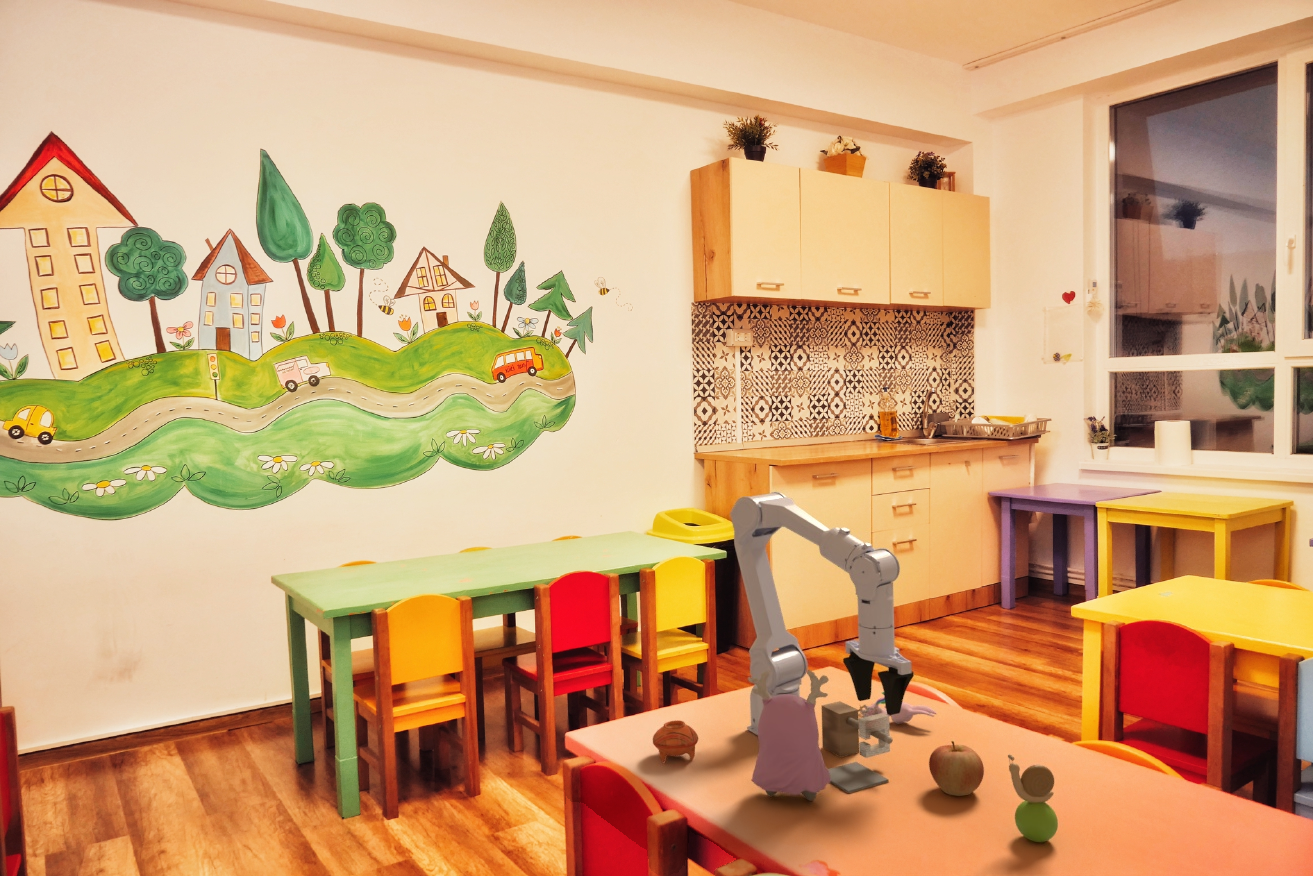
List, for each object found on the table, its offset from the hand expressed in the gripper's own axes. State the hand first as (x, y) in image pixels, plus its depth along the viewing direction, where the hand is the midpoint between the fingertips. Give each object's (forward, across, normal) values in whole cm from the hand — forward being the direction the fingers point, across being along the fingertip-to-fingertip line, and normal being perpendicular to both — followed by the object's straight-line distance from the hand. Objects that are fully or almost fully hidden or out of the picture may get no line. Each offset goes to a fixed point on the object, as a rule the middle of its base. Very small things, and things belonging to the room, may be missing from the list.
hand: (878, 706), depth 146 cm
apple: (+11, -12, -5) cm, 17 cm away
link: (+8, 0, +1) cm, 8 cm away
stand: (+10, +4, +1) cm, 11 cm away
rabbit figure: (+11, +15, -16) cm, 24 cm away
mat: (+10, -1, +6) cm, 12 cm away
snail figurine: (+11, -28, -3) cm, 31 cm away
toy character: (+11, -2, +18) cm, 21 cm away
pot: (+10, +20, +28) cm, 36 cm away
